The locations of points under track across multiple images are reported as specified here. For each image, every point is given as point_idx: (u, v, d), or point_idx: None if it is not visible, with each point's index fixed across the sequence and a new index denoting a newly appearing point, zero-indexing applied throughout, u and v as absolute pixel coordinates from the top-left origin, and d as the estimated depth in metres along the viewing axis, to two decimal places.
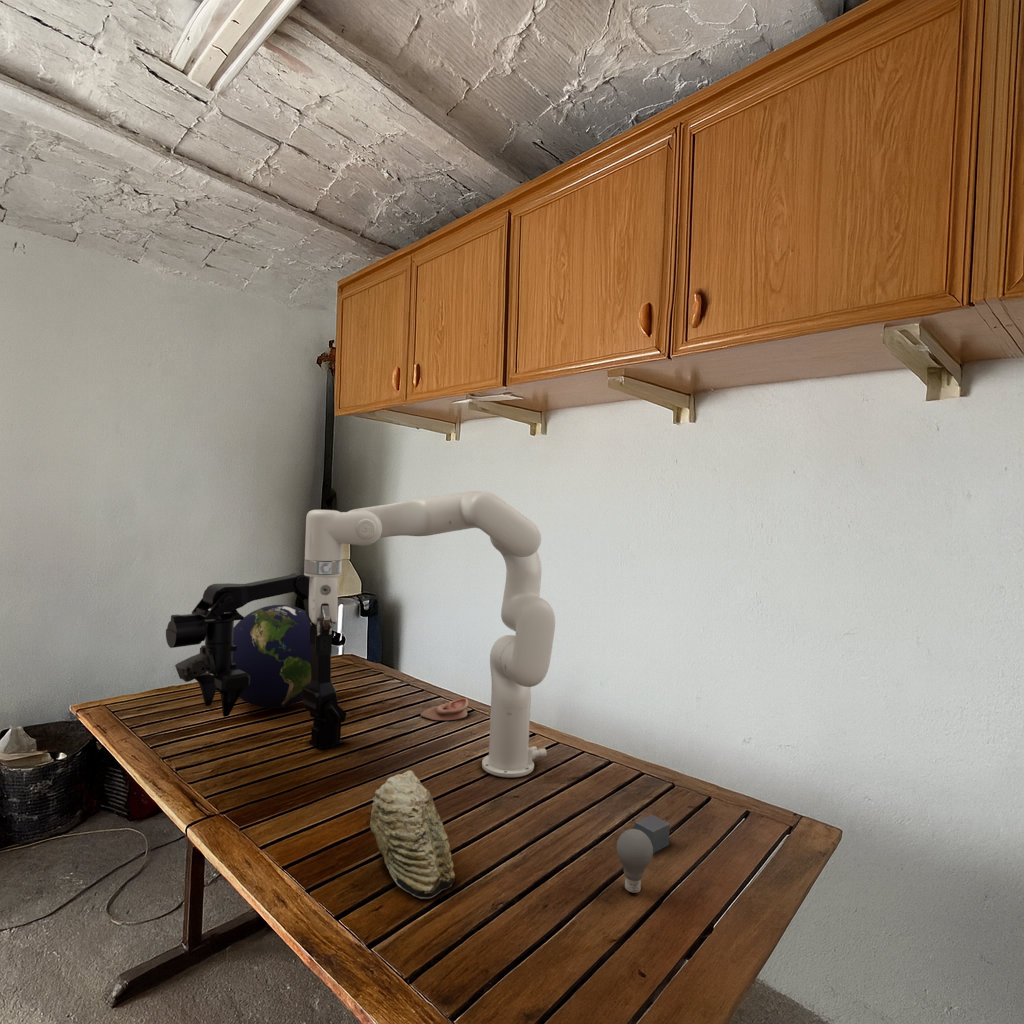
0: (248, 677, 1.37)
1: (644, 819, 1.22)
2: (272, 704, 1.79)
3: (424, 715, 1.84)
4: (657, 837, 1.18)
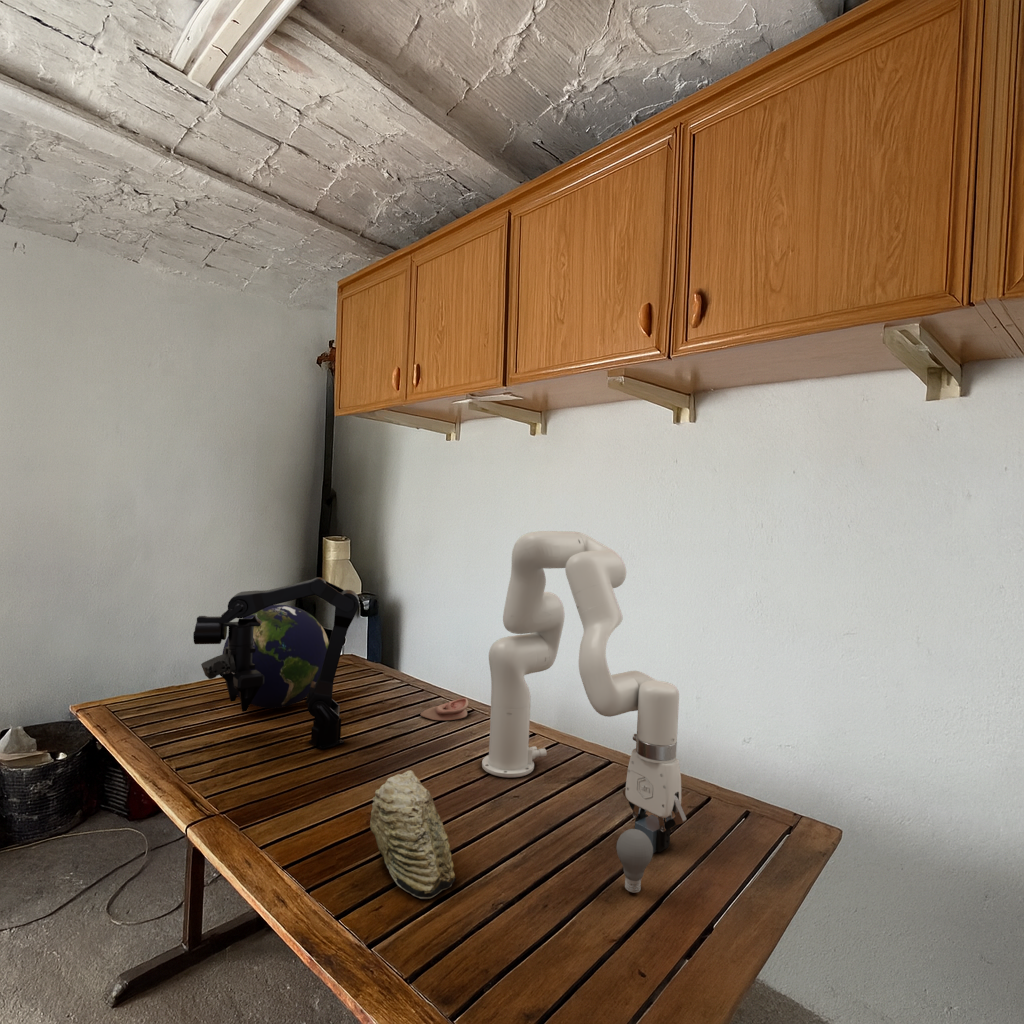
0: (262, 677, 1.51)
1: (644, 819, 1.22)
2: (272, 704, 1.79)
3: (424, 715, 1.84)
4: None
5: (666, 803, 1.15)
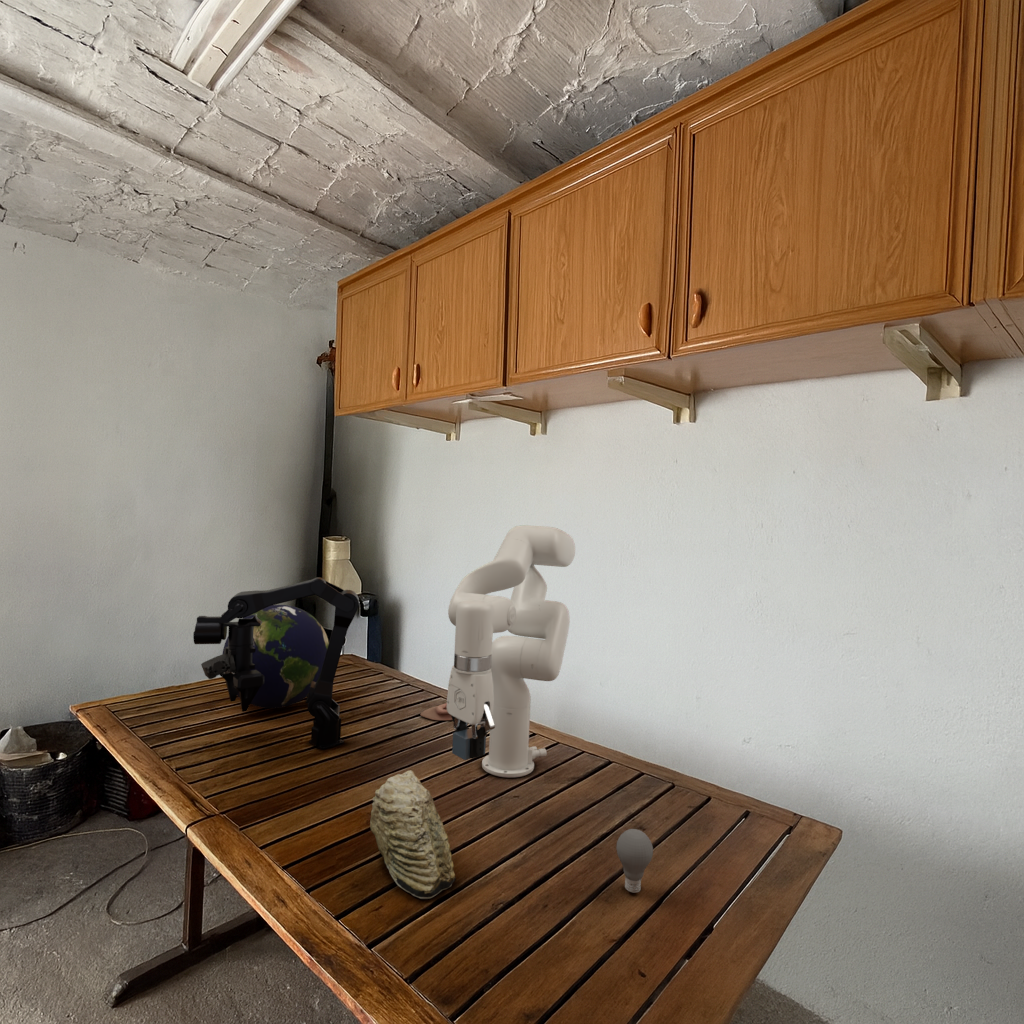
0: (262, 677, 1.51)
1: (463, 731, 1.29)
2: (272, 704, 1.79)
3: (424, 715, 1.84)
4: None
5: (475, 711, 1.22)
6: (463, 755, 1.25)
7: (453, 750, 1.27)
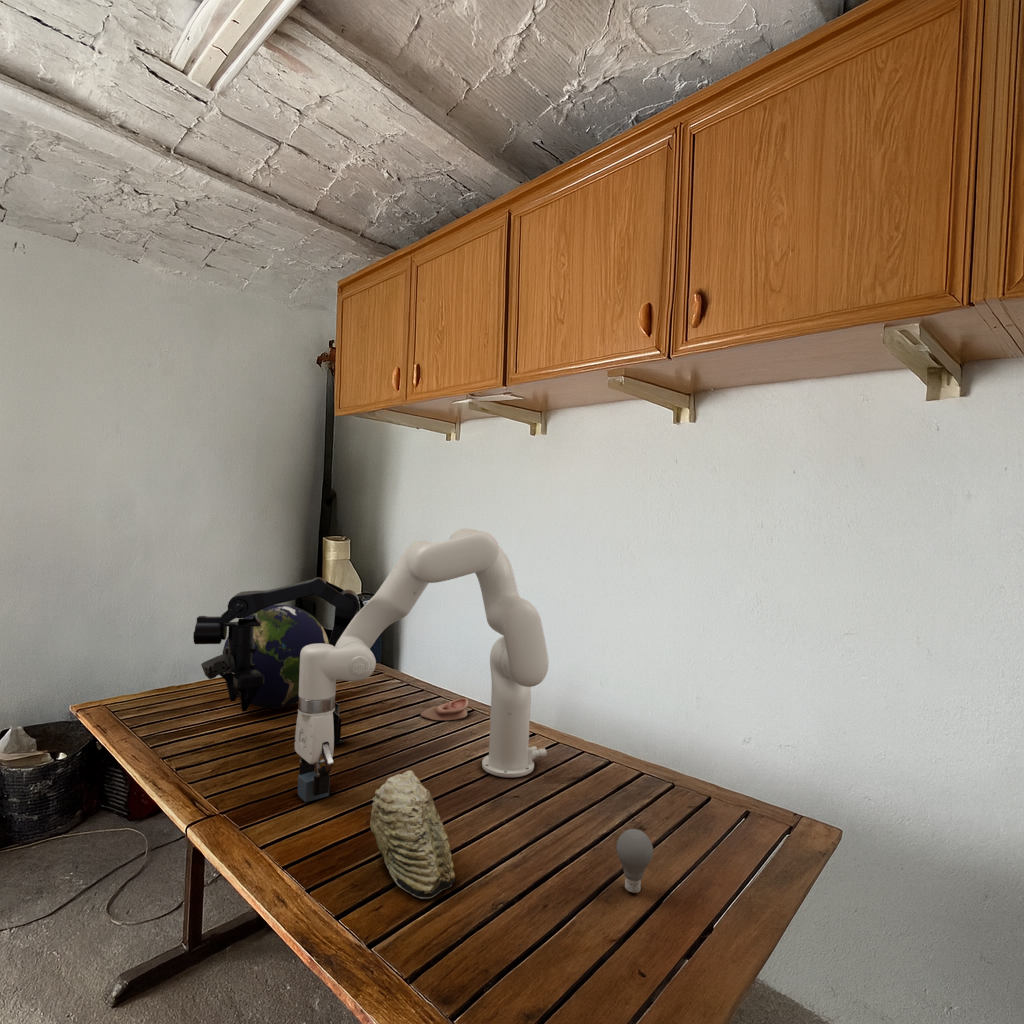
0: (262, 677, 1.51)
1: (309, 773, 1.35)
2: (272, 704, 1.79)
3: (424, 715, 1.84)
4: (312, 788, 1.32)
5: (312, 751, 1.29)
6: (304, 798, 1.31)
7: (298, 791, 1.34)
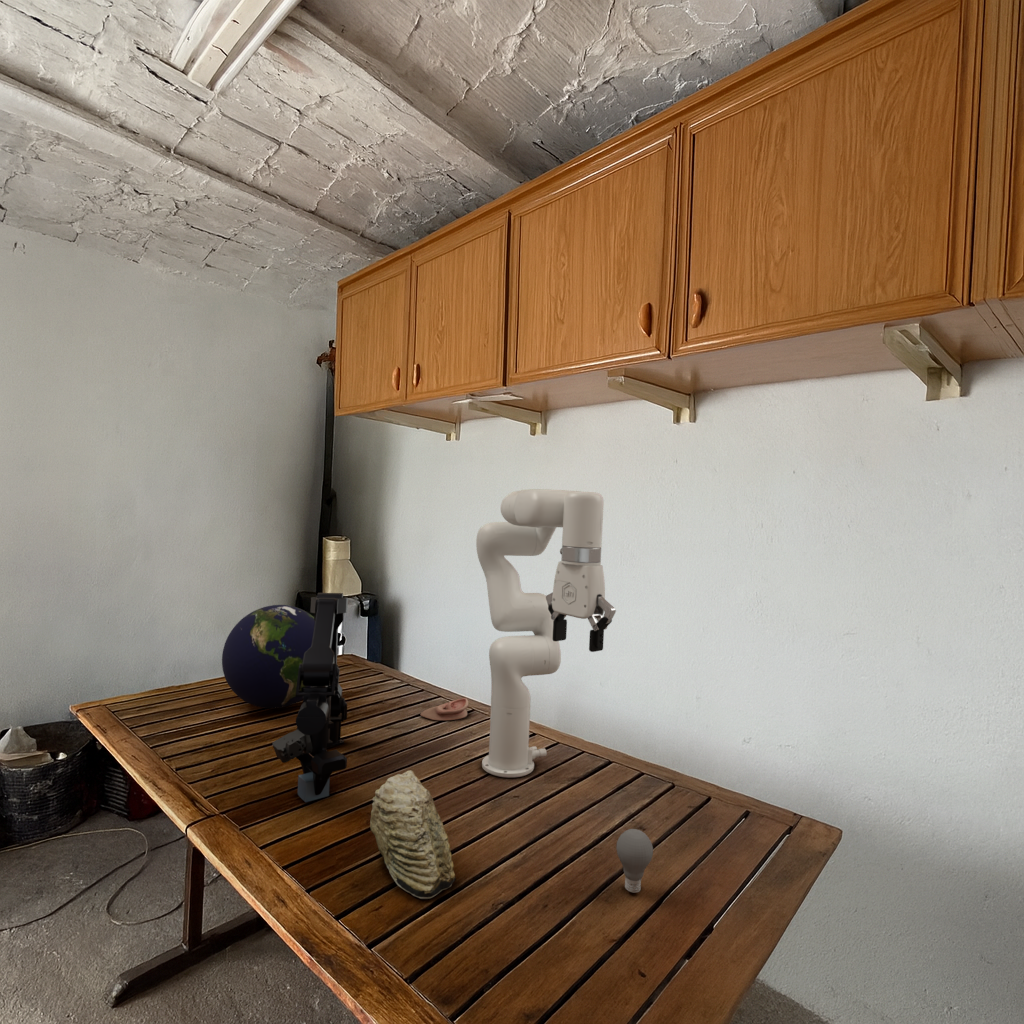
0: (345, 760, 1.29)
1: (309, 773, 1.35)
2: (272, 704, 1.79)
3: (424, 715, 1.84)
4: (312, 788, 1.32)
5: (588, 603, 1.16)
6: (304, 798, 1.31)
7: (298, 791, 1.34)
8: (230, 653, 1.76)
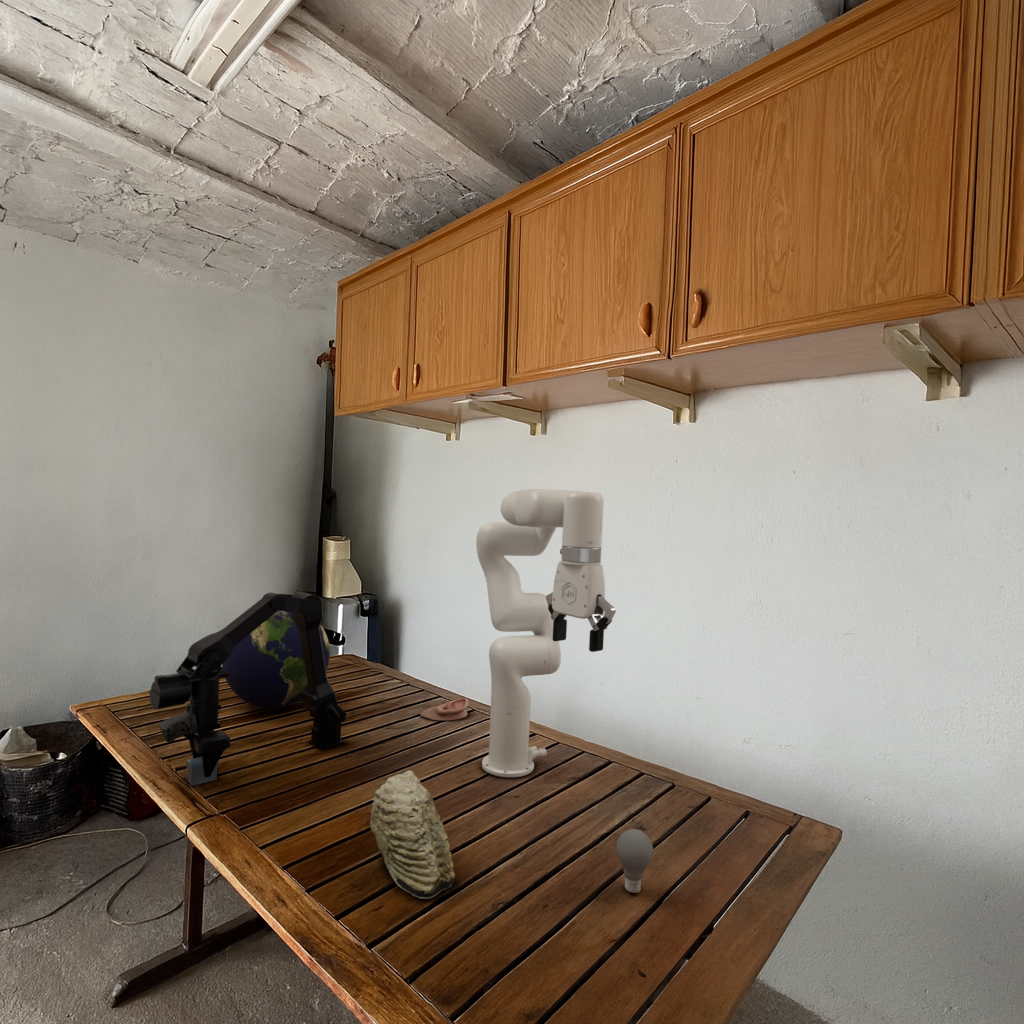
0: (227, 739, 1.34)
1: (198, 758, 1.40)
2: (272, 704, 1.79)
3: (424, 715, 1.84)
4: (199, 772, 1.37)
5: (588, 603, 1.16)
6: (190, 781, 1.36)
7: (186, 775, 1.39)
8: None
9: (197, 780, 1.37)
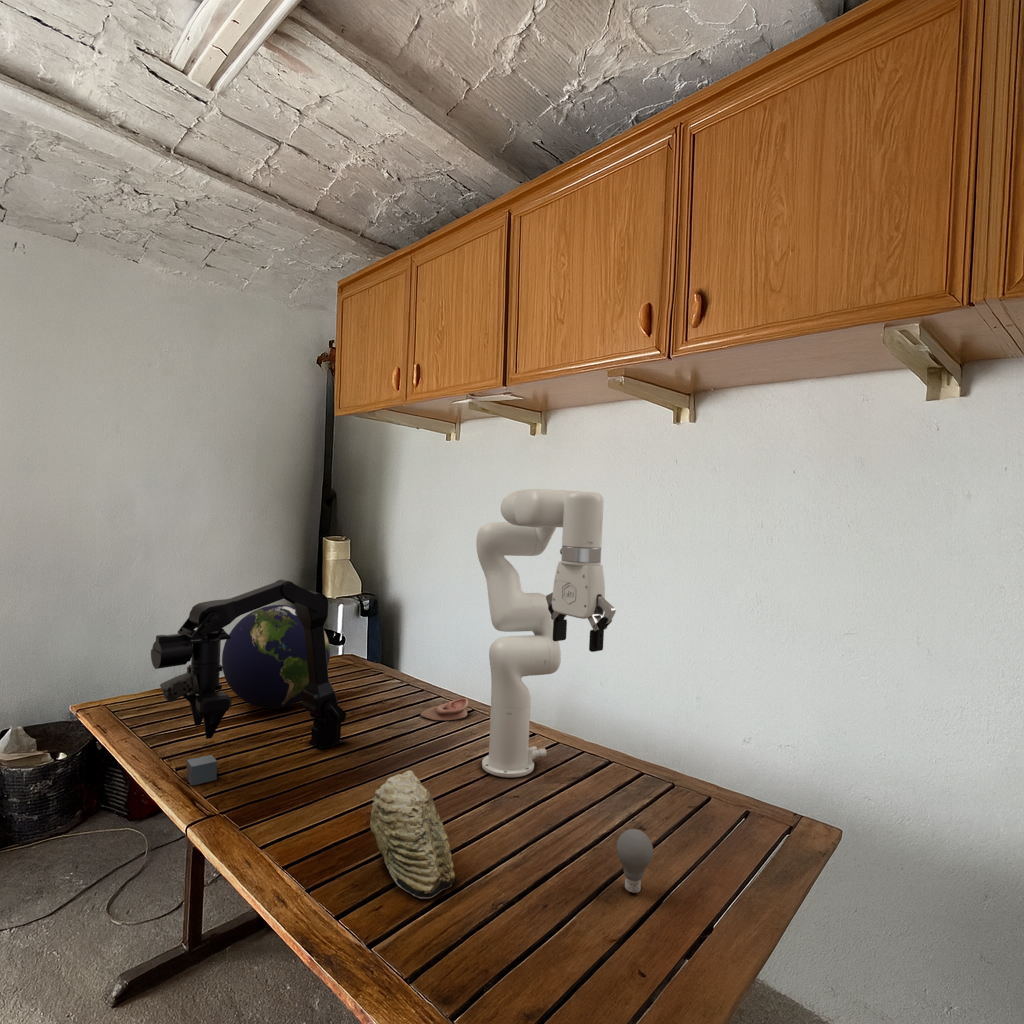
0: (229, 700, 1.34)
1: (198, 758, 1.40)
2: (272, 704, 1.79)
3: (424, 715, 1.84)
4: (198, 772, 1.37)
5: (588, 603, 1.16)
6: (190, 781, 1.36)
7: (186, 775, 1.39)
8: (230, 653, 1.76)
9: (197, 780, 1.37)
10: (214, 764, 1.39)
